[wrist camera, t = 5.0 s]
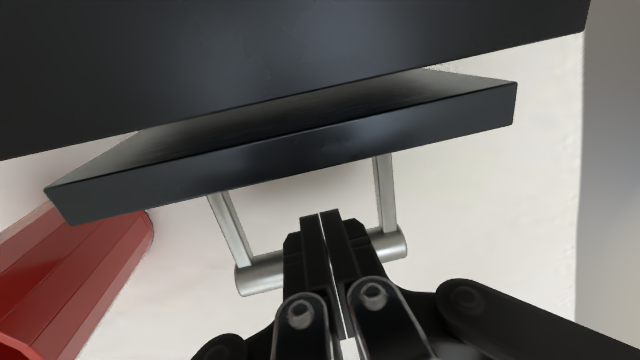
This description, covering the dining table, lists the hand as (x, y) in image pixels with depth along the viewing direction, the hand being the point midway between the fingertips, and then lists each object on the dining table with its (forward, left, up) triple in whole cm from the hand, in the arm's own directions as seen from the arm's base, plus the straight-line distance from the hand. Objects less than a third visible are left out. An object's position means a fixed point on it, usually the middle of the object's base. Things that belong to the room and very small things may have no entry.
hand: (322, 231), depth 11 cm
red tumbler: (-12, -1, -6) cm, 14 cm away
